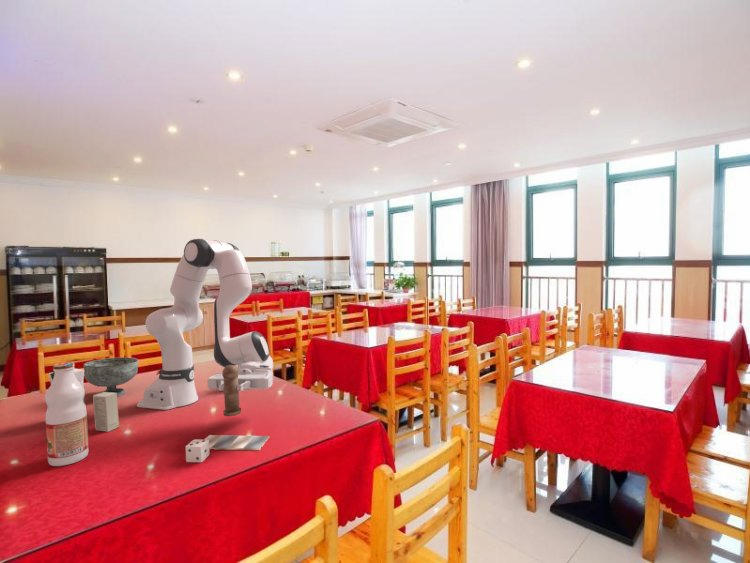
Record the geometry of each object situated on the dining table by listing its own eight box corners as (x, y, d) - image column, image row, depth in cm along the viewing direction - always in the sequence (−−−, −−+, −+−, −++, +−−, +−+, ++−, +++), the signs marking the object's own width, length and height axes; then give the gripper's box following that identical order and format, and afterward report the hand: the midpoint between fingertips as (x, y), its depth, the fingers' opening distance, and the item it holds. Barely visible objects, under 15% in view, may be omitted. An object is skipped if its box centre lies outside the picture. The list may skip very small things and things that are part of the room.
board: (194, 449, 121) (194, 447, 121) (209, 436, 130) (209, 434, 130) (259, 450, 119) (259, 448, 119) (269, 437, 128) (269, 435, 128)
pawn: (220, 416, 121) (218, 367, 121) (228, 410, 127) (225, 363, 126) (236, 416, 121) (234, 367, 120) (243, 410, 126) (241, 363, 126)
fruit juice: (72, 467, 111) (67, 367, 110) (39, 467, 112) (33, 368, 110) (96, 451, 121) (91, 359, 120) (65, 451, 121) (60, 359, 120)
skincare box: (119, 427, 139) (118, 392, 138) (107, 432, 134) (105, 396, 134) (106, 425, 141) (104, 391, 140) (93, 430, 136) (92, 395, 136)
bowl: (147, 391, 177) (146, 358, 177) (99, 405, 161) (97, 368, 160) (125, 385, 188) (123, 353, 187) (77, 397, 172) (75, 362, 171)
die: (185, 462, 113) (184, 446, 112) (194, 454, 117) (194, 438, 117) (202, 463, 112) (201, 446, 112) (210, 454, 117) (209, 439, 117)
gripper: (218, 366, 137) (197, 378, 123) (276, 366, 135) (261, 378, 122) (219, 385, 137) (198, 398, 124) (277, 384, 136) (262, 398, 122)
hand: (230, 388), depth 123 cm, fingers closed on pawn, 4 cm apart
